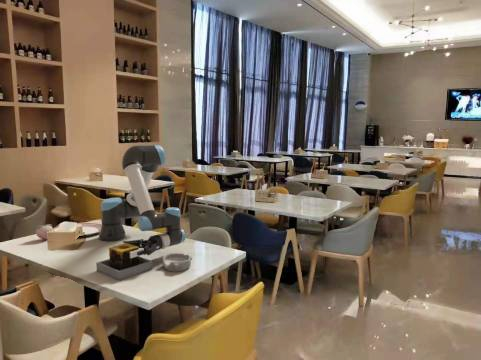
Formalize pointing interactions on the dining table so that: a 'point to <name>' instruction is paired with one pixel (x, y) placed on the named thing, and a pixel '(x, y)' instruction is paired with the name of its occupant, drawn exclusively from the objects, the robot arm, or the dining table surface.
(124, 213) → the robot arm
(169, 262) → the dish
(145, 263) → the tray
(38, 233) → the decorative fruit
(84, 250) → the dining table surface
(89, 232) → the dinner plate
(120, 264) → the candle
